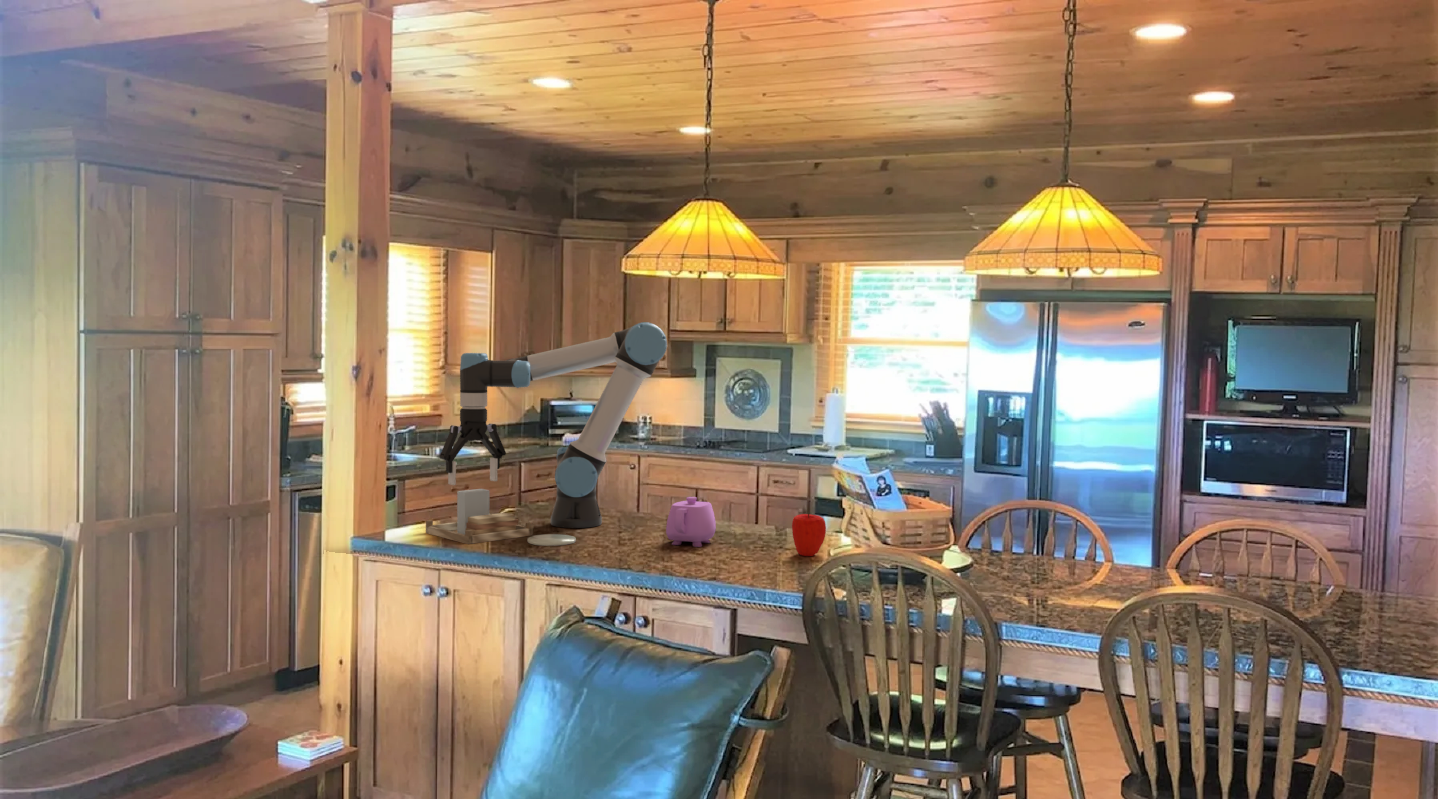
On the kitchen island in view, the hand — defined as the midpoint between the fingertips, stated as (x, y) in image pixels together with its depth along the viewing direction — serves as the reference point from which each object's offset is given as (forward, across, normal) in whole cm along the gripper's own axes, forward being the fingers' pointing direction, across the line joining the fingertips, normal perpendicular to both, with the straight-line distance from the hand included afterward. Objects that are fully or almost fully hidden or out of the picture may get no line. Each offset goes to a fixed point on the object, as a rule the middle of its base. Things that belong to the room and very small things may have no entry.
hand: (473, 482), depth 325 cm
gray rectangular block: (+14, 0, 0) cm, 14 cm away
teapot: (+14, -37, +51) cm, 65 cm away
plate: (+14, -9, +25) cm, 30 cm away
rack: (+14, 0, +3) cm, 15 cm away
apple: (+14, -49, +83) cm, 98 cm away
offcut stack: (+14, 0, +10) cm, 17 cm away
